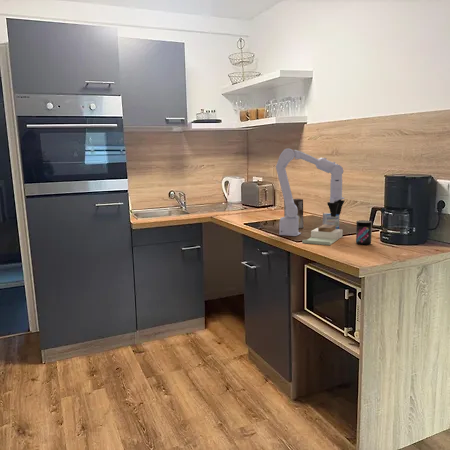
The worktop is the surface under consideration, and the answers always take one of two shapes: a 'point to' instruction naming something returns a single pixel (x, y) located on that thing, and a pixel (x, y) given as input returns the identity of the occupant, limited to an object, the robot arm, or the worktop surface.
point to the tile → (326, 228)
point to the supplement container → (363, 232)
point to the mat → (319, 241)
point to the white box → (327, 234)
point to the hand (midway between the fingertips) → (335, 215)
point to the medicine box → (331, 220)
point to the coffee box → (300, 210)
